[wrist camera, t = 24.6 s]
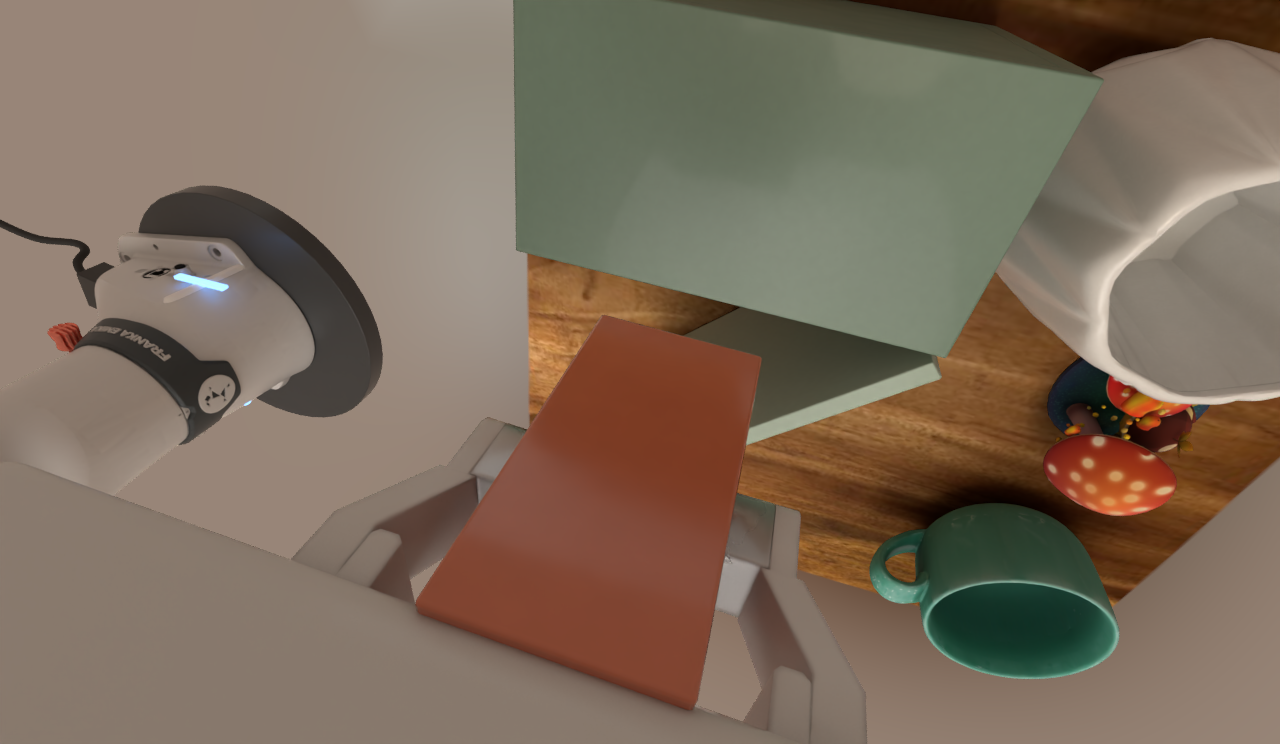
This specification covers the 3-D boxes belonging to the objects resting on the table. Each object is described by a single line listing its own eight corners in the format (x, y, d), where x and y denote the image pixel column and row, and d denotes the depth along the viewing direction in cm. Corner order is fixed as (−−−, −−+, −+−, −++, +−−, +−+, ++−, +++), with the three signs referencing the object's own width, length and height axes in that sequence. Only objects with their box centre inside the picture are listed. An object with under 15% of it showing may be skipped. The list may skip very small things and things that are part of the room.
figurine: (1132, 472, 43) (1185, 567, 36) (1006, 432, 44) (1035, 517, 37) (1272, 346, 35) (1370, 437, 29) (1116, 301, 36) (1177, 379, 30)
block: (589, 429, 16) (438, 721, 10) (601, 312, 14) (411, 602, 8) (725, 470, 16) (653, 803, 10) (762, 355, 13) (697, 703, 7)
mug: (1113, 509, 45) (1166, 617, 38) (1028, 595, 53) (1058, 698, 46) (899, 450, 48) (909, 542, 40) (847, 541, 55) (848, 631, 48)
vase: (1358, 113, 28) (1725, 228, 17) (1104, 321, 37) (1226, 493, 26) (1114, -26, 28) (1315, -8, 16) (916, 219, 37) (952, 346, 25)
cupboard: (910, 221, 37) (946, 359, 25) (616, 156, 40) (515, 250, 27) (996, 25, 30) (1106, 79, 18) (634, -36, 33) (512, -27, 21)
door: (945, 310, 40) (993, 470, 27) (706, 406, 50) (664, 552, 38) (902, 227, 37) (933, 362, 25) (660, 346, 48) (600, 481, 36)
